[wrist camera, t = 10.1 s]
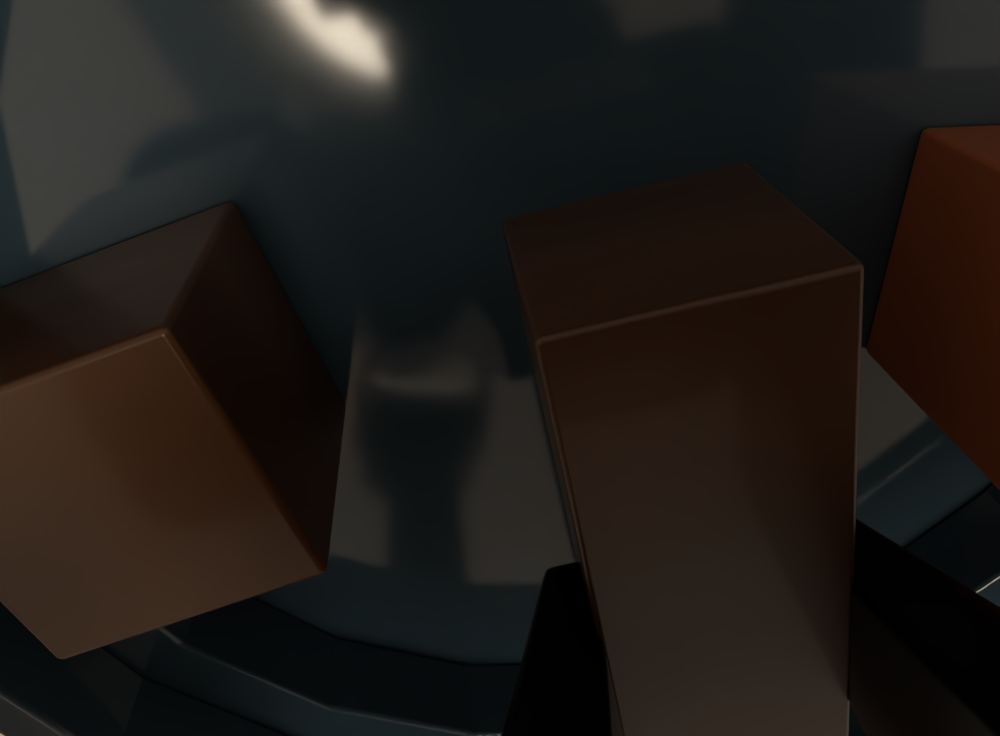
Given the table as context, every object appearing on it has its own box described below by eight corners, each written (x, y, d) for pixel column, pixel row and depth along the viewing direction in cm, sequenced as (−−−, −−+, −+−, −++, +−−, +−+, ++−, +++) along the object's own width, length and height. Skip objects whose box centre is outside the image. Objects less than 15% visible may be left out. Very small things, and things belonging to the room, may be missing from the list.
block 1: (348, 405, 11) (329, 576, 8) (140, 477, 11) (58, 664, 8) (234, 198, 9) (165, 326, 6) (-6, 289, 9) (-162, 446, 7)
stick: (771, 682, 12) (846, 849, 10) (611, 717, 12) (654, 890, 10) (745, 159, 8) (868, 261, 6) (500, 218, 8) (532, 341, 6)
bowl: (1132, 566, 15) (1296, 724, 12) (216, 770, 15) (174, 966, 12) (1637, -1160, 6) (2782, -2119, 3) (-683, -522, 6) (-1558, -838, 3)
